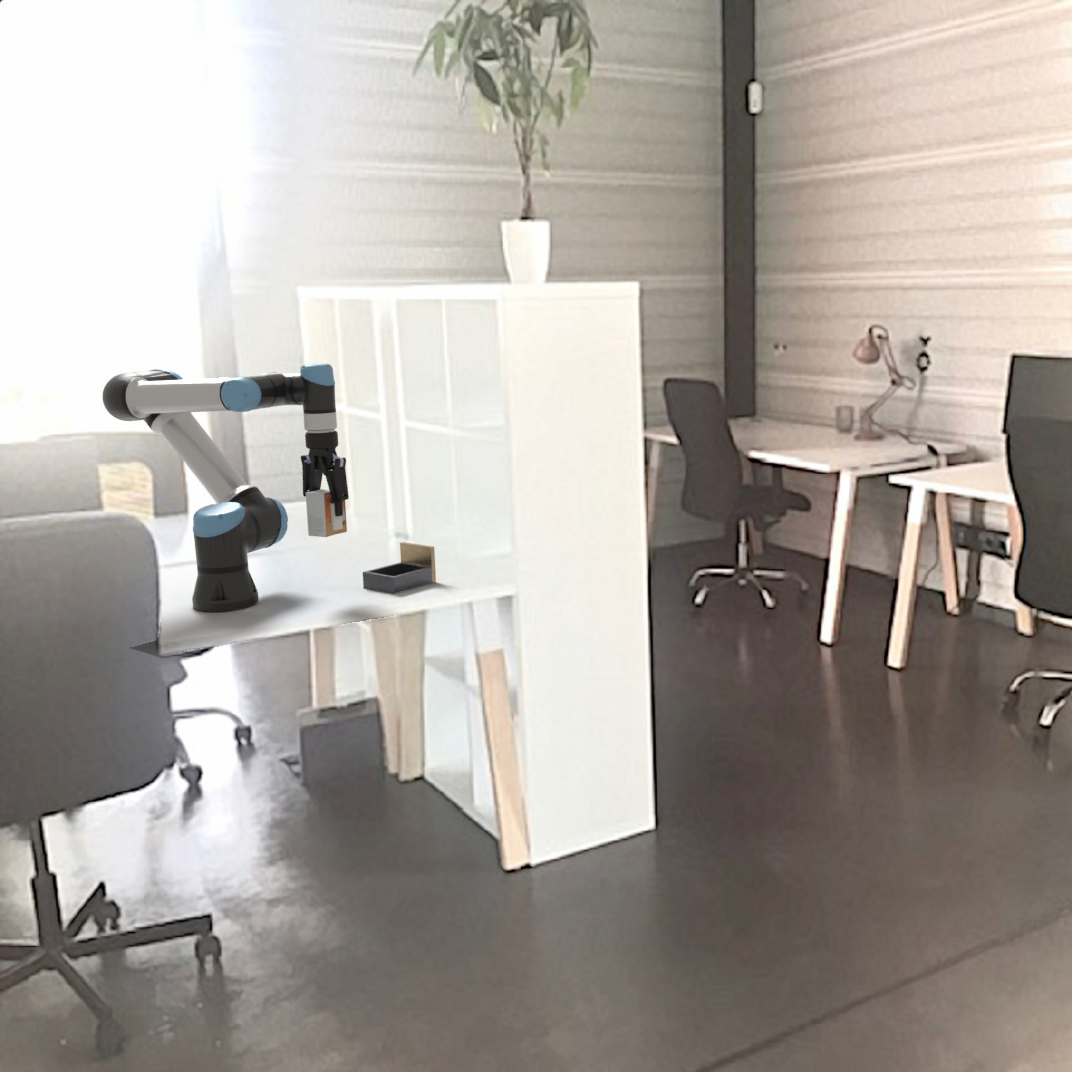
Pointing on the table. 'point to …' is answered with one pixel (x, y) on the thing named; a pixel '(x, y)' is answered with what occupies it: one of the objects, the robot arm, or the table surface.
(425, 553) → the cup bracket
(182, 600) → the table surface
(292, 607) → the table surface
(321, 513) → the small box
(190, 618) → the table surface
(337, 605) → the table surface
